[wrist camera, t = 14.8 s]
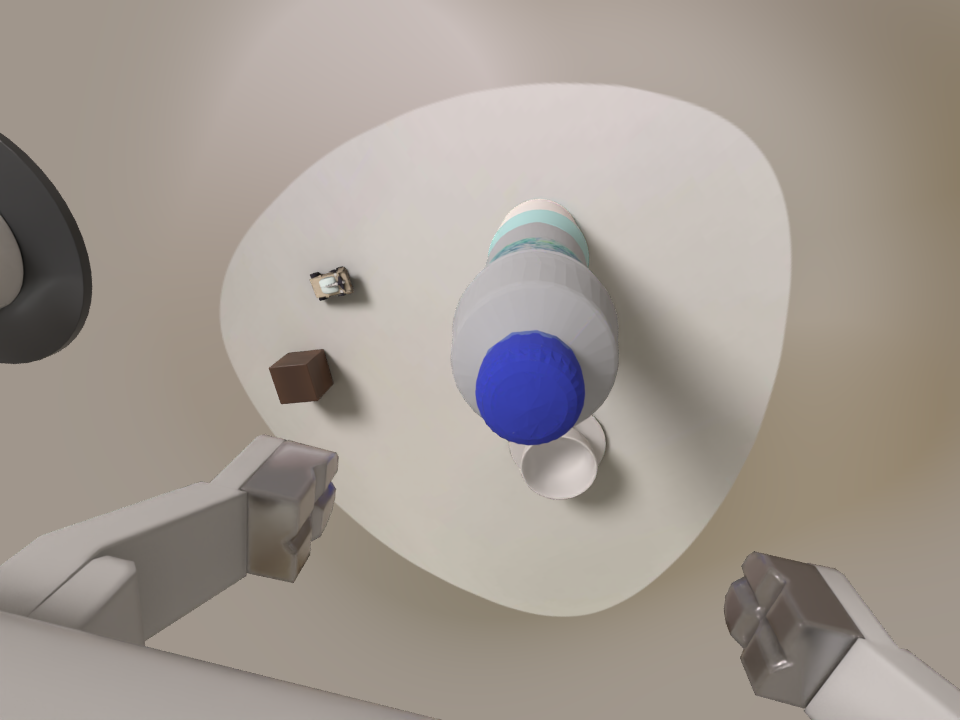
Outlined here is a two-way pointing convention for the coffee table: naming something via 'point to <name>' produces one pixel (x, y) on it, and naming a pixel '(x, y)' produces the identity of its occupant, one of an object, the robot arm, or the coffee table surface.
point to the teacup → (562, 461)
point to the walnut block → (301, 376)
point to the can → (542, 221)
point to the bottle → (535, 337)
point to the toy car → (331, 283)
